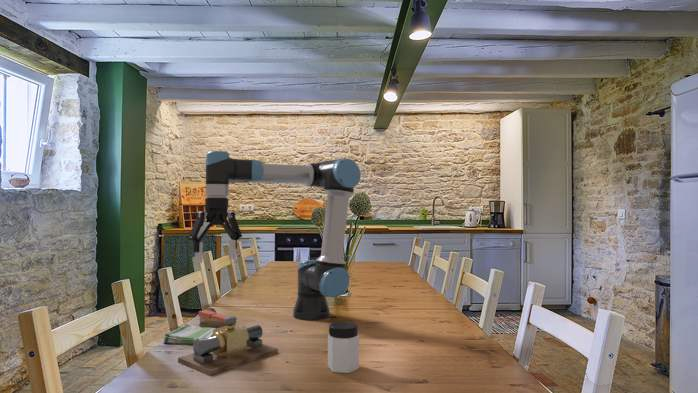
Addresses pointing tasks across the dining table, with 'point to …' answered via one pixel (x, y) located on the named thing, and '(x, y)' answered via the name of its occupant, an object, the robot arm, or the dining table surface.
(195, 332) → the dish towel
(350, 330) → the jar
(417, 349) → the dining table surface
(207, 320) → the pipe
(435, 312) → the dining table surface
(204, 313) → the lever
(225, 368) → the mount board
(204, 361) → the valve body
